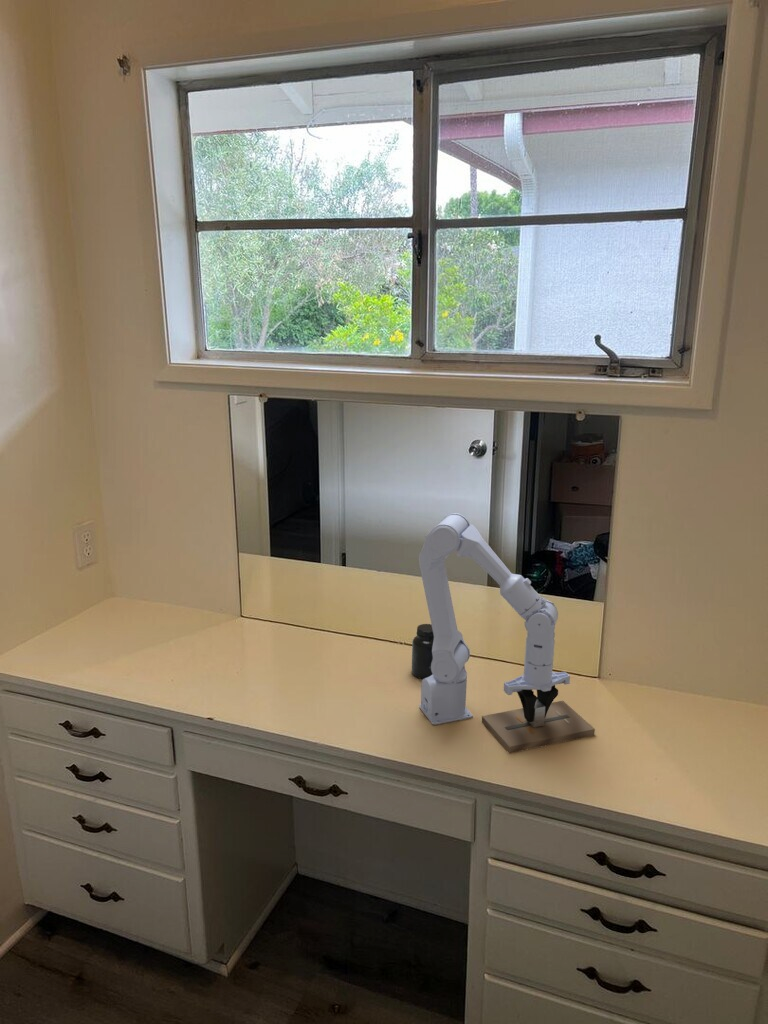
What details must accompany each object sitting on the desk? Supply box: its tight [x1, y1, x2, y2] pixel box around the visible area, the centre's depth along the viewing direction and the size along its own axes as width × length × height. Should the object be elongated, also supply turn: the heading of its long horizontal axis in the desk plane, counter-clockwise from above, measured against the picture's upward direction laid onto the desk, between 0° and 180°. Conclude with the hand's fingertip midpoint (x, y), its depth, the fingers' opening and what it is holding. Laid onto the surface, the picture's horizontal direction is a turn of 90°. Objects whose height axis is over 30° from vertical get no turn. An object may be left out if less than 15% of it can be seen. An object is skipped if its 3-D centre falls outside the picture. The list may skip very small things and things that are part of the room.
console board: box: [481, 700, 596, 754], centre depth 156 cm, size 20×12×2 cm, turn 110°
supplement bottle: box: [411, 623, 434, 680], centre depth 178 cm, size 7×7×12 cm
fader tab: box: [529, 699, 545, 727], centre depth 155 cm, size 2×4×4 cm, turn 19°
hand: (534, 718), depth 156 cm, fingers closed on fader tab, 2 cm apart
